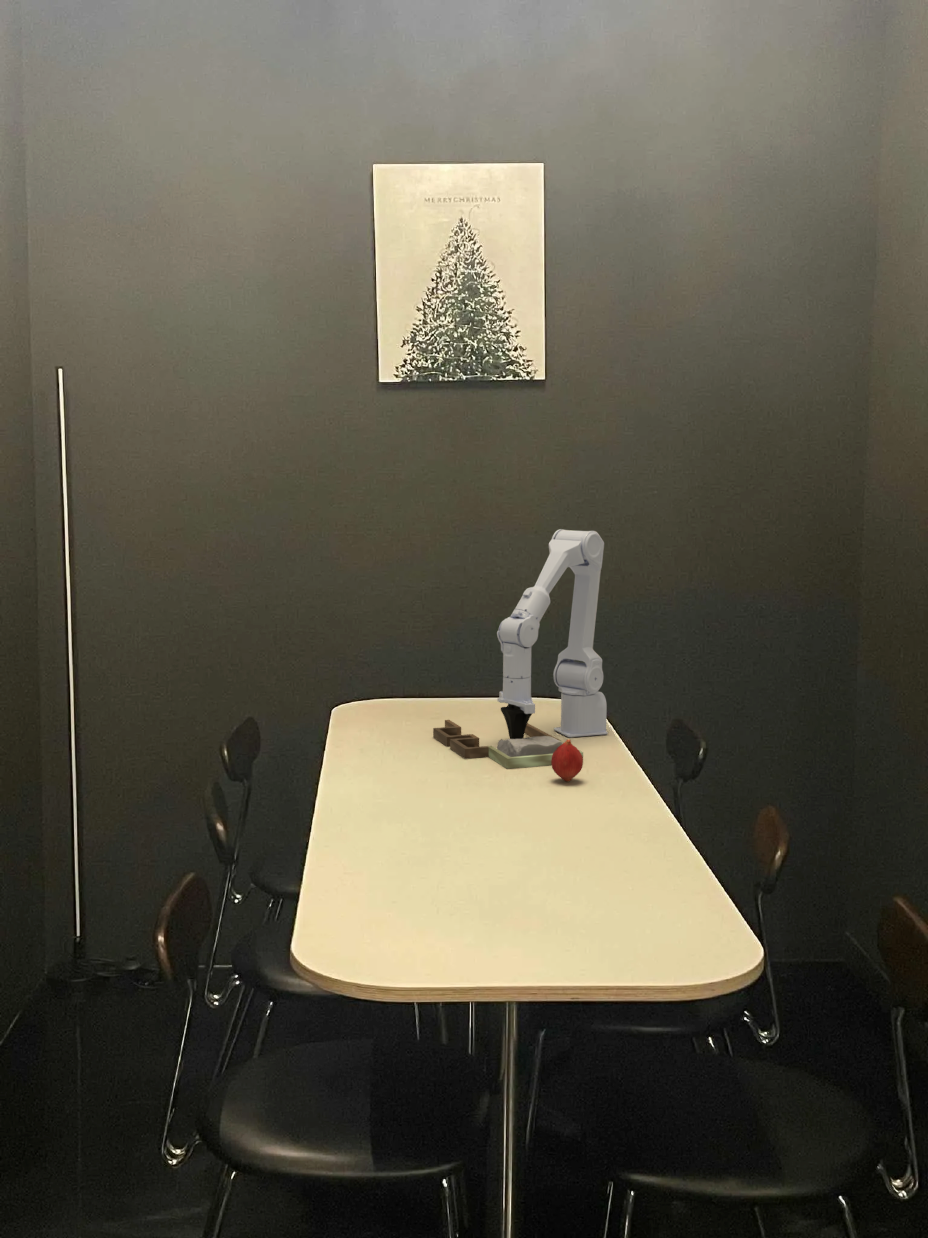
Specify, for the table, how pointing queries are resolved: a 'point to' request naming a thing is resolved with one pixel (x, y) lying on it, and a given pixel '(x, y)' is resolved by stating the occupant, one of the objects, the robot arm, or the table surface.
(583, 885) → the table surface
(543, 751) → the stone block
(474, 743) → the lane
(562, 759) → the onion
